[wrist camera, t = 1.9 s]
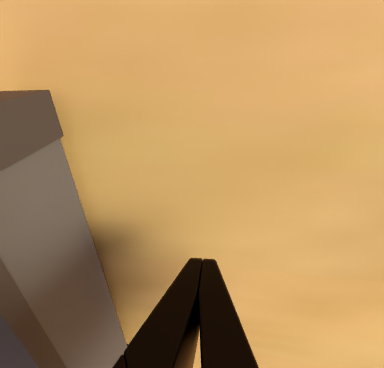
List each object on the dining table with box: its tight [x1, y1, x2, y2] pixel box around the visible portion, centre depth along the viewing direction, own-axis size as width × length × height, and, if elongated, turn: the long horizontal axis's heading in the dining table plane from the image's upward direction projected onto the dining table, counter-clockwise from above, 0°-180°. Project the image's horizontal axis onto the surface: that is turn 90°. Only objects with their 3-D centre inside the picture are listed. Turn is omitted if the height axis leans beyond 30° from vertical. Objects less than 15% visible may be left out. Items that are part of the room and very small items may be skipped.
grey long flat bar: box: [0, 90, 127, 368], centre depth 12 cm, size 18×2×5 cm, turn 2°
